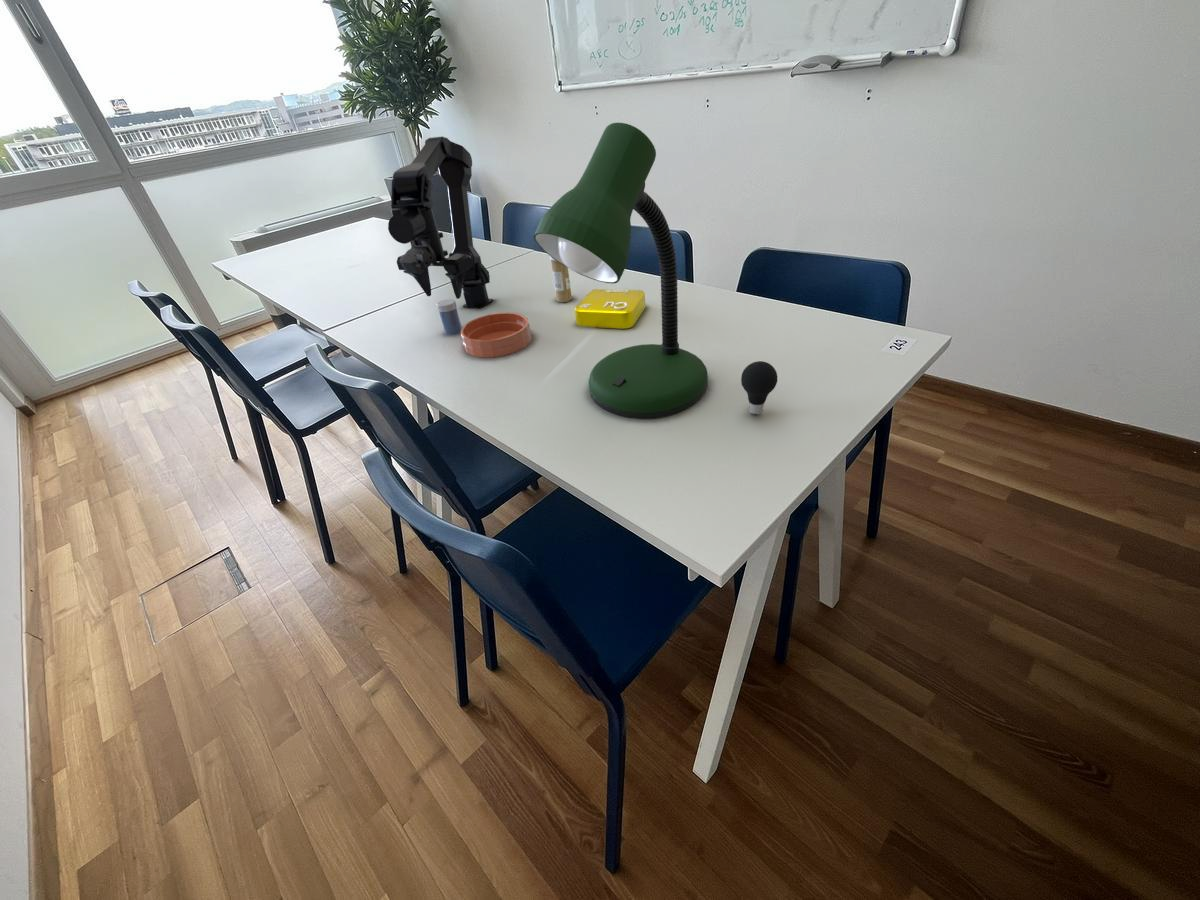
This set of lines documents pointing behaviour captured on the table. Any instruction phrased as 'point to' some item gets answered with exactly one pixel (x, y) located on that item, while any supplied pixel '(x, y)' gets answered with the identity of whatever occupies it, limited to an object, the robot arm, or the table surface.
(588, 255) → the desk lamp
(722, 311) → the table surface
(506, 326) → the bowl
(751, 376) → the light bulb
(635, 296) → the element tile
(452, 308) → the salt shaker
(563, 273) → the sprinkles bottle
